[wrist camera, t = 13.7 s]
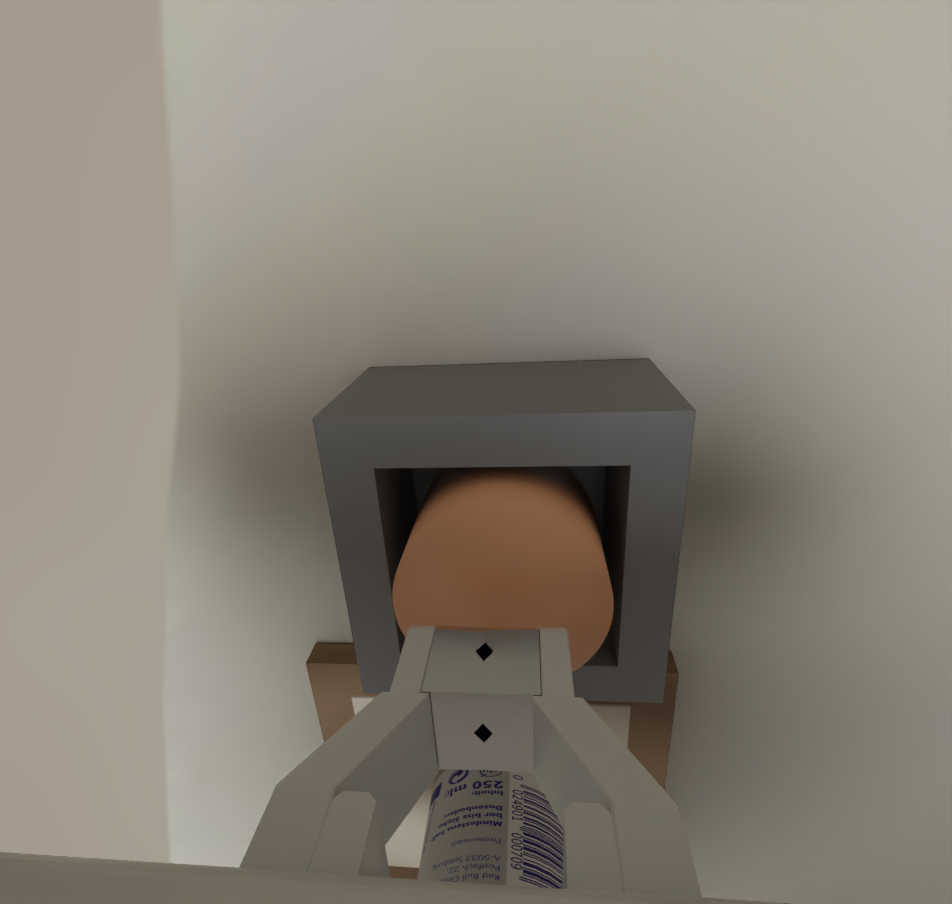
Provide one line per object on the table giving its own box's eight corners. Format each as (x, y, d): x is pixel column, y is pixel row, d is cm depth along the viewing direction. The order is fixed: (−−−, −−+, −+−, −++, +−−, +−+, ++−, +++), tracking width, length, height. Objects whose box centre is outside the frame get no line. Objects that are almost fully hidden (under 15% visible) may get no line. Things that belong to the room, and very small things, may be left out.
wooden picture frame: (645, 875, 24) (650, 905, 23) (363, 857, 25) (356, 883, 24) (671, 651, 19) (679, 675, 18) (316, 643, 20) (304, 665, 19)
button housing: (632, 592, 18) (662, 702, 14) (399, 590, 19) (363, 693, 15) (649, 358, 15) (695, 410, 11) (369, 367, 16) (312, 418, 12)
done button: (593, 601, 15) (608, 693, 12) (427, 599, 16) (404, 685, 13) (599, 446, 13) (619, 509, 10) (410, 449, 14) (379, 511, 11)
